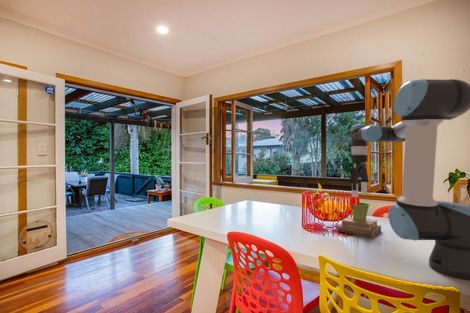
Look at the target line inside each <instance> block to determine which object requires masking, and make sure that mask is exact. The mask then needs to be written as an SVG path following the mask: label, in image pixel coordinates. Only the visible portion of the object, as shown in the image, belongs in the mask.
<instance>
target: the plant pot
mask: <svg viewBox="0 0 470 313" xmlns="http://www.w3.org/2000/svg"><path fill="white" fill-rule="evenodd" d="M358 202H359V205H353V204H352V205H353V211H352V210H351V214H352V215H351V216H353V220H355V221H360V222H362V221H366V219H367V217H368V216H367V215H368V209H369V207H370V204H369V203H366V202H361V201H358Z"/></svg>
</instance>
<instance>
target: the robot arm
mask: <svg viewBox="0 0 470 313" xmlns="http://www.w3.org/2000/svg"><path fill="white" fill-rule="evenodd" d="M393 110H394V113H395V114H396V116H399V117H400V122H398V123H396V124H394V125H388V126H387V125H382V126H379V125H375V124H372V125H366V124H354V125H352V126H351V131H350V136H351V137H350V138H351V150H350V152H351V163H352V166H351V167H352V168H351V174H350V179H349V184H351V197H353V198H354V197H355V198H359V182H358V181H359V179H360V180H361V181H360V185H361V186H360V189H361V190H360V191H361V192H360V193H361V195H368V183H369V182H370V181H369V175H368V169H367V164H366V163H367V162H368V159H369V158H368V151H369V148H368V143H384V142H385V143H386V142H387V143H391V142H392V143H394V142H395V143H402V142H404V151H403V152H404V153H403V154H404V155H403V157H404V158H403V172H402V174H403V175H402V188H401V189H402V190H401V191H402V193H401V194H400V195H399V196H398V197H397V198H396V204H392V205H391V206H389V208H388V214H387V215H388V216H387V217H388V222H389V225H390V228H391V229H392V231H393V232H394V233H395V235H397V237H399V238H400V239H402V240H410V241H434V246H433V248H432V250H431V252H430V255H429V257H428V258H429V259H428V265H429V267H430V268H431V269H433V270H434V271H437V272H439V273H441V274H443V275H447V276H449V277H453V278H457V279H462V280H467V279H468V280H469V281H470V205H468V204H464V203H457V202H451V201H445V200H436V199H434V187H435V186H434V185H435V171H436V169H435V168H436V158H437V156H436V154H437V138H438V127H439V125H441V123H443V122H444V120H446V121H450V120H453V119H456V118H457V117H460V116H462V115H464V114H466V113H467V112H468V111H469V110H470V83H468V82H467V81H464V80H461V79H457V78H455V79H453V78H452V79H427V78H426V79H423V78H422V79H414V80H408V81H407V82H405V83H404V84H403V85H401V87H400V88H399V90H397V92H396V95H395V98H394V101H393Z"/></svg>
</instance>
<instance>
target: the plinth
mask: <svg viewBox="0 0 470 313" xmlns="http://www.w3.org/2000/svg"><path fill="white" fill-rule="evenodd" d="M338 231H341V232H345V233H344V234H346V233H349V234H348V235H351V234H353V235H352V236H355V235H356V237H360V236H361V237H362V238H365V237H366V238H365V239H370V238H371V240H372V239H373V238H375V237H376V236H377V235H379V234H380V233H381V232H382V225H378V220H377V219H371V218H366V221H362V222H360V221H355V220H353V218H351V217H350V216H349V217H346V218H343V219H342V220H341V224H339V225H338V226H337V232H338ZM341 232H340V233H341Z"/></svg>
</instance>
